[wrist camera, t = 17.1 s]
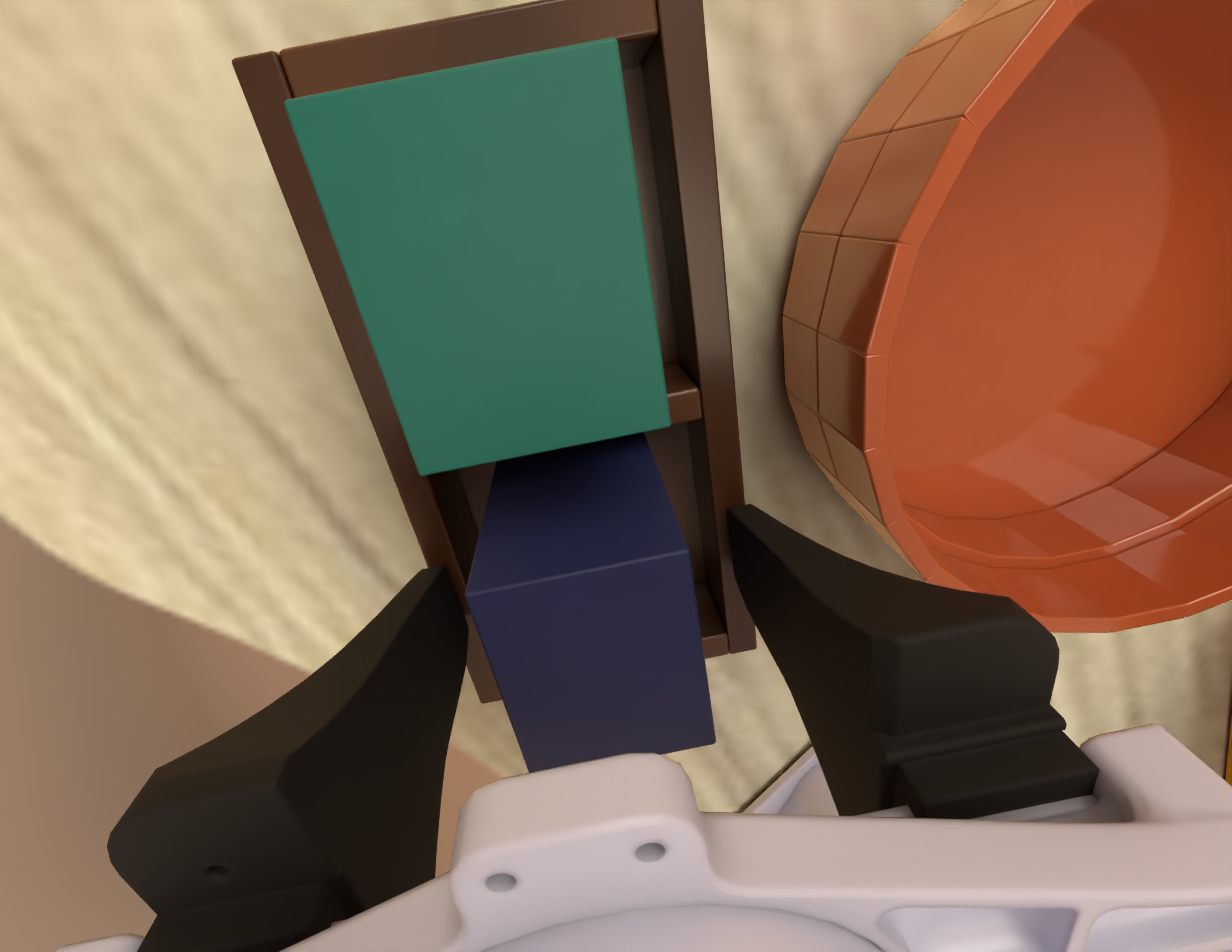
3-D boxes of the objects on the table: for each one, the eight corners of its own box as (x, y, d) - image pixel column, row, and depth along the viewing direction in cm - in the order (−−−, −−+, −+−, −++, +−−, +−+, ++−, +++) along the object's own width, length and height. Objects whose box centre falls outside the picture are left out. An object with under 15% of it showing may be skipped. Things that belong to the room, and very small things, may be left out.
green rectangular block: (473, 369, 15) (419, 477, 9) (409, 149, 12) (280, 99, 7) (626, 338, 15) (671, 427, 9) (588, 114, 12) (616, 34, 7)
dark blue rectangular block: (539, 593, 18) (531, 782, 12) (497, 449, 16) (463, 595, 10) (664, 568, 18) (716, 744, 12) (640, 421, 16) (689, 549, 10)
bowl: (1231, 483, 19) (1435, 567, 15) (787, 572, 19) (858, 685, 15) (1441, -128, 13) (1935, -315, 8) (759, 2, 12) (874, -112, 8)
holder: (491, 632, 19) (480, 705, 16) (302, 91, 12) (228, 57, 10) (728, 584, 19) (757, 649, 16) (668, 21, 12) (700, -33, 10)
